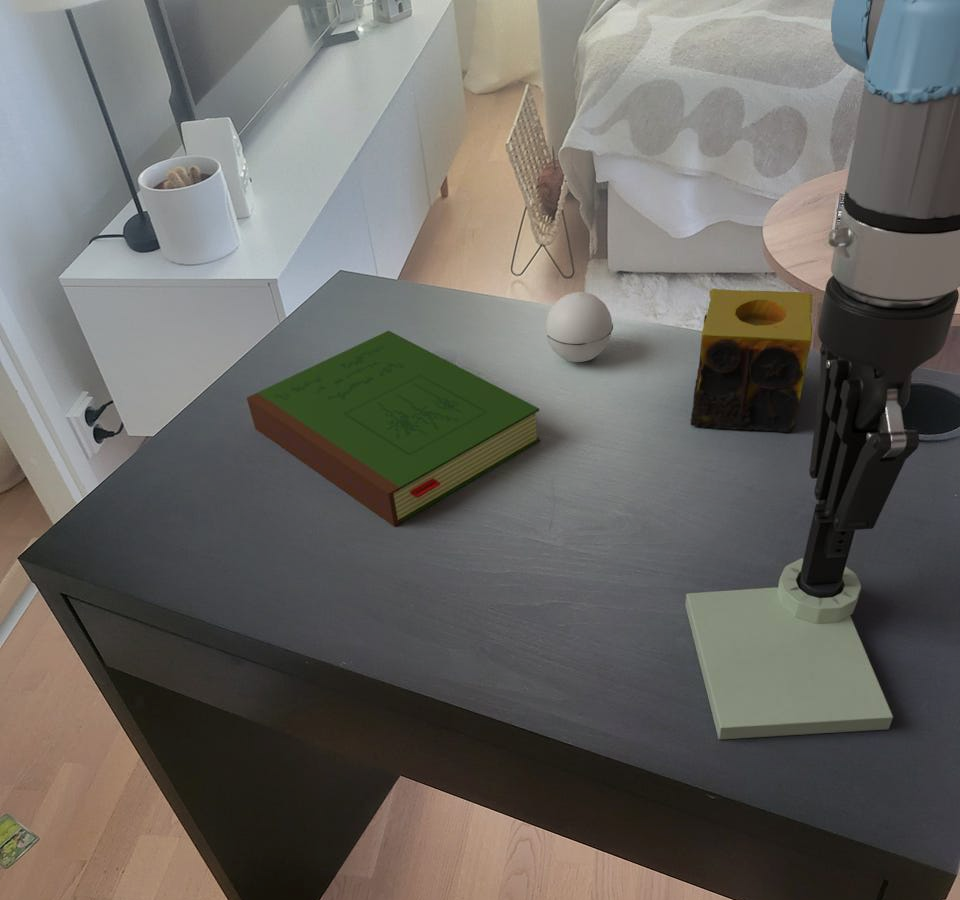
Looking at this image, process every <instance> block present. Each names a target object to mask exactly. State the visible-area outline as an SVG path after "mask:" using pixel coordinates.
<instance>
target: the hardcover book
mask: <svg viewBox="0 0 960 900" xmlns="http://www.w3.org/2000/svg"><path fill="white" fill-rule="evenodd" d="M246 401H247V403H248V409H249V411H250V415H251V419H252V422H253V425H254V429H255V430H256V431H258V432H260V434H262V435H263V436H265V437H266V438H268V439H269V440H270V441H272V442H274V443H275V444H276V445H278V446H279V447H280V448H282V449H284V451H286V452H288V453H289V454H291V455H292V456H293V457H295V458H296V459H297V460H299V461H301V462H302V463H303V464H305V465H306V466H307V467H309V468H310V469H312V470H313V471H315V472H316V473H317V474H319V475H320V476H322V477H323V478H324V479H326V480H327V481H328V482H330V483H332V484H333V485H335V486H336V487H337V488H338V489H340V490H342V491H343V492H345V493H346V494H347V495H349V496H350V497H351V498H352V499H354V500H356V501H357V502H358V503H360V504H362V505H363V506H364V507H366V508H367V509H368V510H370V511H371V512H373V513H374V514H375V515H377V516H379V517H380V518H382V519H383V520H384V521H386V522H387V523H389V524H390V525H391V526H392V527H396V526H398V525H400V524H402V523H403V522H405V521H406V520H408V519H410V518H411V517H413V516H415V515H417V514H419V513H420V512H421V511H424V510H425V509H427V508H429V507H430V506H432V505H434V504H436V503H437V502H439V501H441V500H442V499H445V498H446V497H448V496H449V495H452V493H454V492H456V491H457V490H459V489H461V488H462V487H465V486H466V485H468V484H469V483H471V482H473V481H474V480H477V479H478V478H480V477H482V476H483V475H485V474H487V473H488V472H490V471H492V470H494V469H495V468H497V467H498V466H500V465H502V464H503V463H505V462H507V461H508V460H510V459H512V458H514V457H516V456H517V455H519V454H520V453H522V452H524V451H526V450H528V449H529V448H531V447H534V445H536V444H537V443H539V442H541V438H540V437H538V435H537V413H538V412H539V411H540V408H539V407H538V406H535V405H534V404H532V403H530V402H527V401H526V400H524V399H522V398H520V397H518V396H517V395H514V394H512V393H510V392H508V391H507V390H505V389H502V388H500V387H499V386H497V385H495V384H493V383H491V382H489V381H487V380H485V379H483V378H481V377H480V376H477V375H476V374H474V373H472V372H470V371H468V370H466V369H464V368H462V367H460V366H458V365H456V364H455V363H453V362H451V361H449V360H447V359H446V358H443V357H441V356H439V355H437V354H435V353H433V352H431V351H429V350H428V349H425V348H424V347H421V346H419V345H417V344H416V343H413V342H412V341H410V340H408V339H406V338H405V337H402V336H400V335H398V334H396V333H395V332H393V331H391V330H387V331H384V332H382V333H380V334H378V335H376V336H374V337H372V338H370V339H367V340H366V341H363V342H361V343H359V344H357V345H355V346H353V347H351V348H348V349H346V350H344V351H343V352H340V353H337V354H336V355H334V356H332V357H329V358H327V359H325V360H323V361H321V362H319V363H317V364H315V365H313V366H311V367H308V368H306V369H304V370H301V371H300V372H298V373H296V374H293V375H292V376H289V377H287V378H285V379H283V380H280V381H279V382H276V383H275V384H272V385H270V386H268V387H265V388H264V389H262V390H260V391H257V392H255V393H254V394H251V395H249V396H247V397H246Z"/></svg>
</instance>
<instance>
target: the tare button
mask: <svg viewBox="0 0 960 900" xmlns="http://www.w3.org/2000/svg"><path fill="white" fill-rule="evenodd" d="M840 586H841V582H827V583H811V584H806V583H805V581H804V578H803V575H801V579H800V583H799V589H801V590H802V591H803V592H805V593H806V594H807V595H810V596H814V597H817V598H830V597H835V596H836V595H838V593H839V590H840Z"/></svg>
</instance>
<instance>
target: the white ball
mask: <svg viewBox="0 0 960 900" xmlns="http://www.w3.org/2000/svg"><path fill="white" fill-rule="evenodd" d="M544 329H545V334H546V340H547V343H548V344H549V346H550V348H551V349H552V351H553V352H554V353H555V354H556V355H557V356H559V357H560V358H561V359H564V361H565V360H566V361H567V362H572V363H583V362H587V361H591V360H592V359H594V358H595V359H596V357H597V356H599V355H600V354H601V353H602V352H603V351H604V350H605V349H606V347H607V346H608V344H609V342H610V340H611V337H612V338H613V337H614V338H621V339H629V340H632V338H631V337H625V336H619V335H612V332H613V329H614V324H613V320H612V315H611V312H610V310H609V309H608V307H607V305H606V303H605V302H603V300H601V299H600V298H599V297H598V296H597V295H595V294H593V293H590V292H585V291H576V292H570V293H567V294H565V295H563V296H562V297H560V298H559V299H558V300H557V301H556V302H554V304H553V305H552V306H551V308H550V310H549V312H548V314H547V316H546V321H545V327H544Z"/></svg>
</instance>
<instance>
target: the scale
mask: <svg viewBox="0 0 960 900" xmlns="http://www.w3.org/2000/svg"><path fill="white" fill-rule="evenodd" d="M803 559H804V557H803V558H798V559H797V560H795V561H793V562H791V563H789V564H787V565H786V566H785V567H784V568H783V570H782V573H781V575H780V577H779V580H778V585H777V587H775V586H774V587H763V588H760V587H759V588H748V589H734V590H733V589H732V590H731V589H730V590H717V591H716V590H715V591H703V592H688V593H686V595H685V604H684V606H685V610H686V614H687V617H688V622H689V626H690V630H691V634H692V639H693V642H694V646H695V650H696V654H697V658H698V663H699V667H700V670H701V675H702V677H703V683H704V686H705V691H706V694H707V698H708V699H707V700H708V702H709V707H710V710H711V714H712V718H713V723H714V727H715V730H716V735H717V738H718V740H733V739H737V740H738V739H751V738H752V739H753V738H764V737H765V738H769V737H783V736H799V735H801V736H803V735H818V734H832V733H833V734H834V733H835V734H836V733H848V732H849V733H850V732H866V731H880V730H881V731H882V730H889V729H890V727H891V724H892V721H893V719H894V715H893V713H892V710H891V709H890V706H889V704H888V701H887V699H886V696H885V694H884V692H883V689H882V687H881V685H880V683H879V680H878V677H877V675H876V673H875V671H874V668H873V667H872V664H871V662H870V659H869V656H868V654H867V652H866V650H865V647H864V645H863V643H862V640H861V638H860V636H859V633H858V630H857V627H856V626H855V623H854V621H853V619H852V616H851V615H852V614H853V613H854V611H855V608H856V606H857V603H858V601H859V597H860V594H861V590H862V585H861V583H860V582H861V581H860V580H859V578H858V575H857V574H856V572H854V571H853V570H851V569H850V568H849V567H847V566H845V570H844V573H843V577H842V581H841V586H840V590H839V593H838V595H836V596H835V597H830V598H817V597H814V596H810V595H807V594H806V593H805V592H803V591H802V590H801V589H799V583H800V579H801V575H802V573H801V568H802V564H803Z"/></svg>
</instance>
